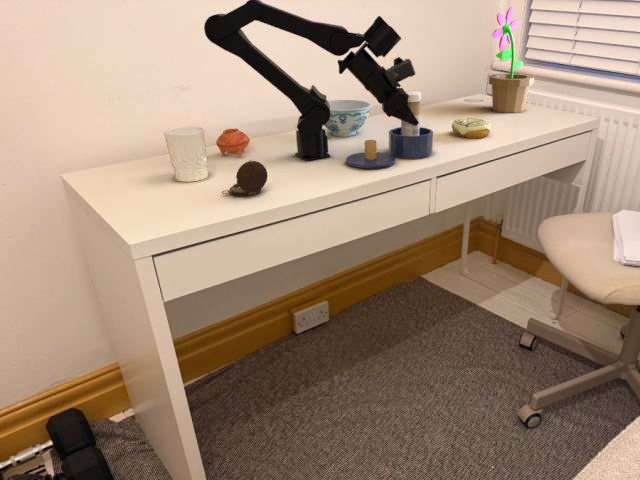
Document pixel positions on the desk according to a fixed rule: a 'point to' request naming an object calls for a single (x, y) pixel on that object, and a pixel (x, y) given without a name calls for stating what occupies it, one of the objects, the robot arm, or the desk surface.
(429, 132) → the tin
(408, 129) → the sprinkles bottle
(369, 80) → the robot arm
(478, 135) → the decorated donut
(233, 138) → the pot
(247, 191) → the compass
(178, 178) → the white cup
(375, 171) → the desk surface
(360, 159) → the tin lid
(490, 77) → the flowerpot
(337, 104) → the chinaware
